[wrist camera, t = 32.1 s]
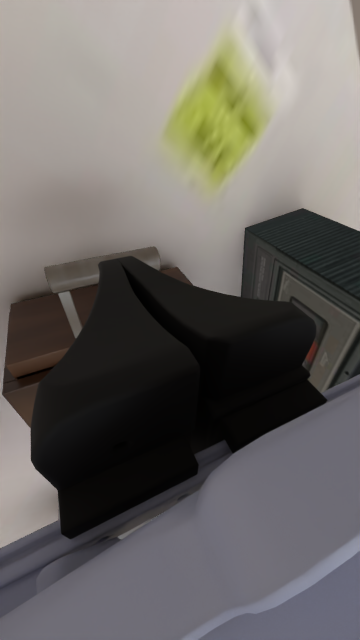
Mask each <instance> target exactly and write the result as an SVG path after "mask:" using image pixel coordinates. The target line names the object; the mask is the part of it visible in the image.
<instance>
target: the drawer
mask: <svg viewBox="0 0 360 640" xmlns="http://www.w3.org/2000/svg"><path fill="white" fill-rule="evenodd" d="M126 256H133V257H135V258H137V259H139V260H140V261H142V262H144V263H146V264H147V265H149V266H151V267H153V268H155V269H157V270H160V267H161V261H160V256H159V253H158V250H157V248H156V247H154V246H153V247H148V248H143V249H137V250H132V251H127V252H121V253H116V254H111V255H106V256H100V257H95V258H90V259H84V260H79V261H74V262H69V263H63V264H58V265H53V266H47V267H45V274H46V278H47V281H48V284H49V286H50V289H51V291H52V292H53V293H58V294H53V295H49V296H44V297H40V298H35V299H31V300H26V301H22V302H17V303H13V304H11V308H10V320H9V331H8V343H7V354H6V367H7V369H8V370H9V371H10V373H11V374H12V376H13V377H14V378H16V377H20V376H23V375H26V374H29V373H33V372H35V374H37V373H40V372H44V371H47V370H50V369H53V368H54V367H55V365H56V364H57V363H58V362H59V361H60V360H61V359H62V358H63V356H64V355H65V354H66V352H67V351H68V349H69V348H70V347H71V345H72V344H73V342H74V341H75V340H76V338H77V336H78V335H79V333H80V332H81V330H82V328H83V326H84V324H85V322H86V320H87V318H88V316H89V314H90V311H91V309H92V306H93V303H94V300H95V296H96V293H97V289H98V285H94V284H98V283H99V267H98V264H99V263H100V262H101V261H106V260H111V259H116V258H121V257H126ZM160 272H162V273H164V274H166V275H168V276H171V277H173V278H175V279H177V280H180V281H182V282H185V283H187V284H190V285H192V283H191V282H190V281H189V280H188V279H187V278H186V276H185V275H184V274H183V273H182V272H181V271H180V270H179V268H178V267H175V268H170V269H166V270H161V271H160ZM89 285H94V286H89ZM85 286H89V287H85ZM80 287H85V288H80ZM76 288H80V289H76ZM71 289H76V290H71ZM70 290H71V291H70Z"/></svg>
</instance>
